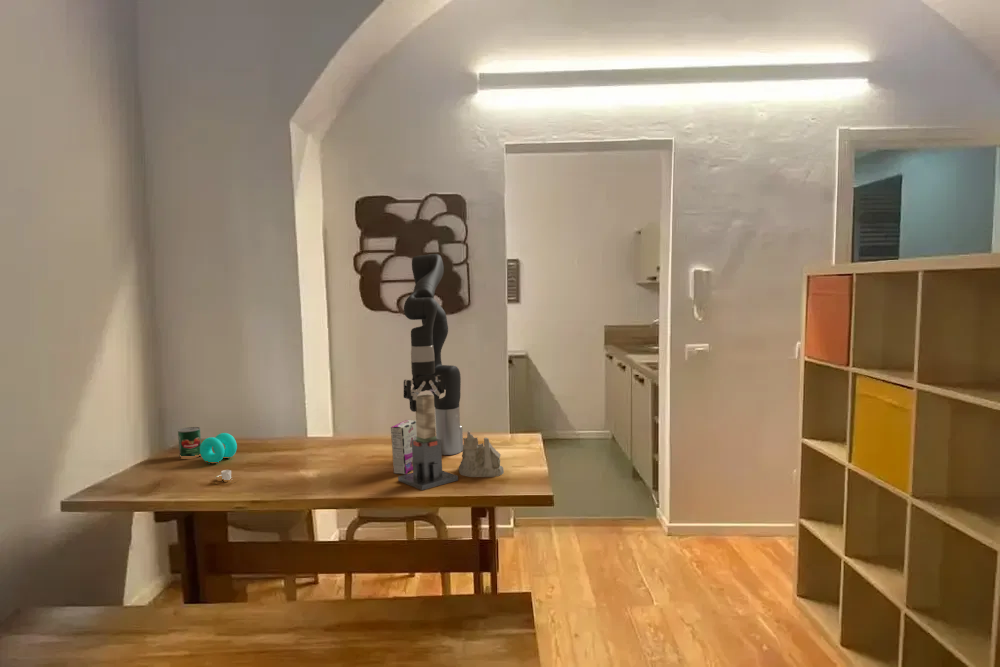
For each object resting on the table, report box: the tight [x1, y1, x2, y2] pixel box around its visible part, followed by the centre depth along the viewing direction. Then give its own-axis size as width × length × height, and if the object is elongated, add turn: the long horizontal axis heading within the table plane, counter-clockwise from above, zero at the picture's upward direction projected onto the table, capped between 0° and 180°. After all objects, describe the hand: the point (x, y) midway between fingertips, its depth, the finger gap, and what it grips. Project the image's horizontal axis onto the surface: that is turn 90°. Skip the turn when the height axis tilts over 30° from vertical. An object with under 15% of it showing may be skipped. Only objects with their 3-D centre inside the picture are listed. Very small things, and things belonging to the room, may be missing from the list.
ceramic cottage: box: [458, 430, 505, 478], centre depth 224 cm, size 16×16×15 cm
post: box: [415, 393, 436, 443], centre depth 213 cm, size 5×5×20 cm
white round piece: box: [216, 469, 232, 480], centre depth 221 cm, size 9×8×4 cm
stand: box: [397, 439, 459, 491], centre depth 213 cm, size 14×14×14 cm
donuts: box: [200, 432, 238, 463], centre depth 247 cm, size 10×10×10 cm
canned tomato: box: [177, 426, 202, 456], centre depth 254 cm, size 8×8×11 cm
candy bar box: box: [390, 419, 417, 475], centre depth 227 cm, size 11×5×16 cm, turn 160°
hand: (425, 409), depth 212 cm, fingers open, 8 cm apart
